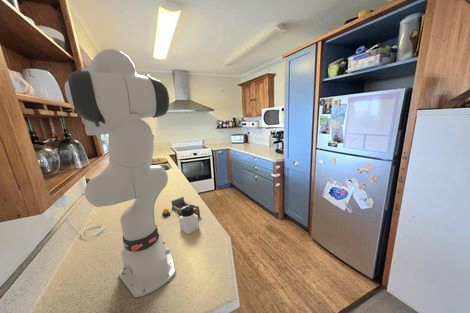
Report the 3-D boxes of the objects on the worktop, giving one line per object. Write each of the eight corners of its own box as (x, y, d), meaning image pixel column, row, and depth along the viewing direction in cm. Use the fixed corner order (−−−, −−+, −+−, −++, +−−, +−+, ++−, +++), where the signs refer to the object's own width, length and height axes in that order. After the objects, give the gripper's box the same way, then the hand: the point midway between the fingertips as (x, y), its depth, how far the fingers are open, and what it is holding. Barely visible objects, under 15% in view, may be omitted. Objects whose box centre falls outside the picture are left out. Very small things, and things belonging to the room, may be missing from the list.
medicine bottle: (199, 228, 92) (197, 206, 89) (187, 235, 87) (184, 212, 84) (191, 223, 97) (189, 202, 94) (180, 229, 91) (177, 208, 89)
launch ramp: (200, 216, 103) (199, 206, 102) (187, 221, 98) (186, 212, 97) (190, 208, 112) (189, 200, 111) (178, 213, 107) (177, 204, 106)
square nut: (170, 215, 106) (170, 212, 106) (164, 217, 104) (164, 215, 104) (168, 212, 109) (167, 210, 109) (162, 215, 107) (162, 212, 106)
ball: (169, 213, 106) (169, 208, 105) (164, 215, 104) (163, 210, 103) (167, 211, 108) (167, 206, 108) (162, 213, 106) (161, 208, 106)
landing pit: (190, 208, 112) (189, 201, 111) (178, 213, 107) (177, 205, 106) (183, 203, 120) (182, 196, 119) (172, 207, 115) (171, 200, 114)
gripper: (80, 113, 73) (88, 146, 76) (135, 112, 86) (140, 140, 89) (80, 114, 78) (87, 145, 81) (132, 113, 91) (137, 140, 94)
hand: (115, 143), depth 85 cm, fingers open, 8 cm apart
